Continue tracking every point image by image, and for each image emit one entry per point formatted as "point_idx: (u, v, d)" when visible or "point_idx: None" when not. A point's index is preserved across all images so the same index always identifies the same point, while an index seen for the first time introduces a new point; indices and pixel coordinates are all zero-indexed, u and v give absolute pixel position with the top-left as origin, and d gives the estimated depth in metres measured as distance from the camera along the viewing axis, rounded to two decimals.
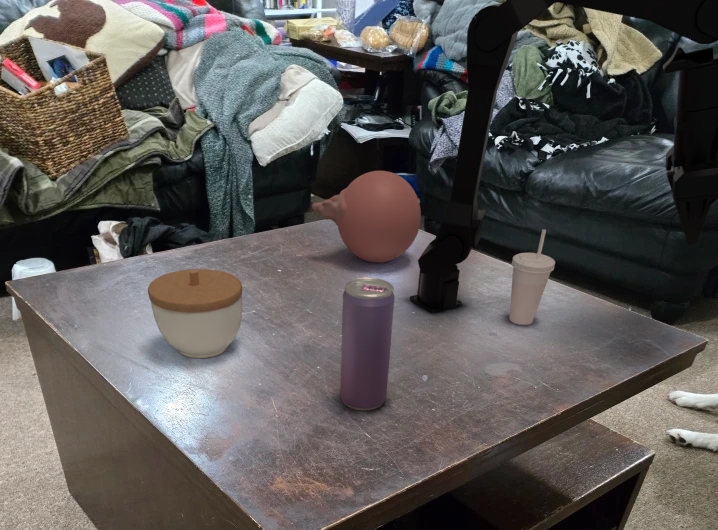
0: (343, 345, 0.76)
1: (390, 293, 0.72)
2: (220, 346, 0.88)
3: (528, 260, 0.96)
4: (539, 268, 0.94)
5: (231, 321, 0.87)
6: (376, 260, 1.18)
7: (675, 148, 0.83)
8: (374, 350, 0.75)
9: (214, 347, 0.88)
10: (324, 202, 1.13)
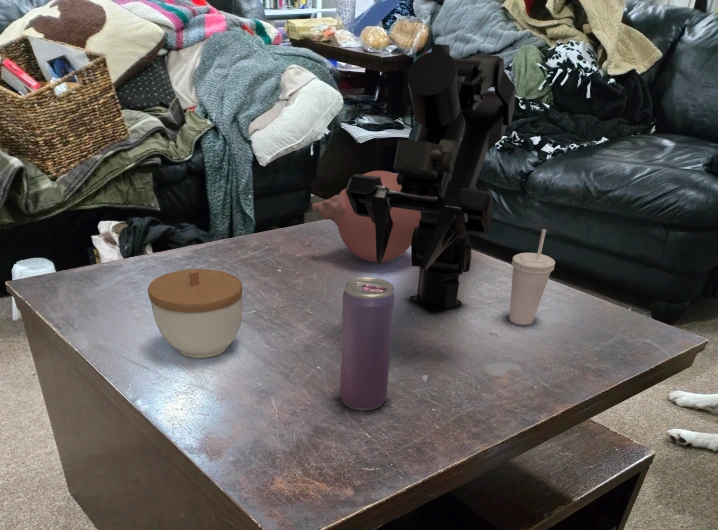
0: (343, 345, 0.76)
1: (390, 293, 0.72)
2: (220, 346, 0.88)
3: (528, 260, 0.96)
4: (539, 268, 0.94)
5: (231, 321, 0.87)
6: (376, 260, 1.18)
7: None
8: (374, 350, 0.75)
9: (214, 347, 0.88)
10: (324, 202, 1.13)
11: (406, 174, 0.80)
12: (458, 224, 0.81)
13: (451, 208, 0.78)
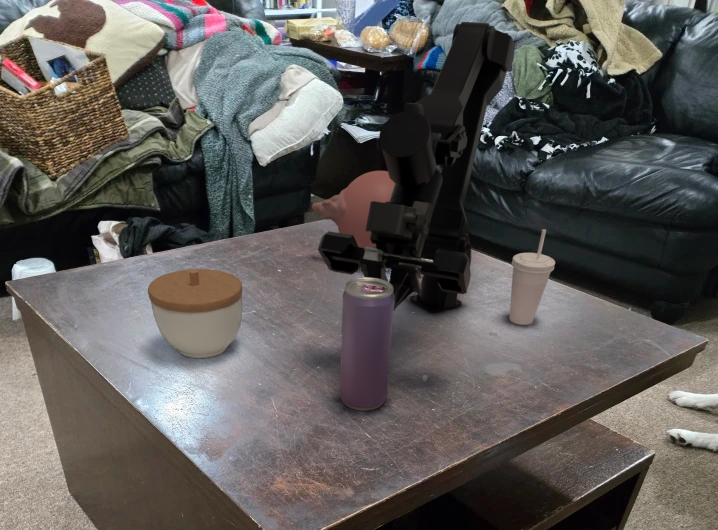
0: (343, 345, 0.76)
1: (390, 293, 0.72)
2: (220, 346, 0.88)
3: (528, 260, 0.96)
4: (539, 268, 0.94)
5: (231, 321, 0.87)
6: None
7: None
8: (374, 350, 0.75)
9: (214, 347, 0.88)
10: (324, 202, 1.13)
11: (380, 234, 0.77)
12: (412, 281, 0.78)
13: (403, 266, 0.76)
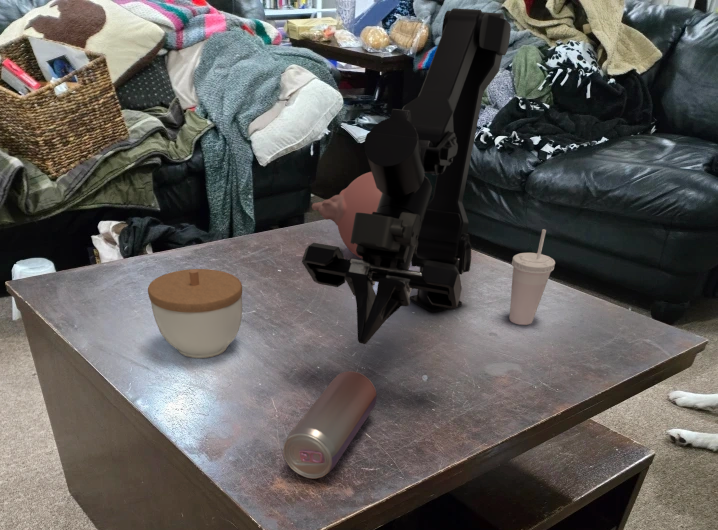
0: None
1: (331, 465, 0.67)
2: (220, 346, 0.88)
3: (528, 260, 0.96)
4: (539, 268, 0.94)
5: (231, 321, 0.87)
6: None
7: None
8: None
9: (214, 347, 0.88)
10: (324, 202, 1.13)
11: (366, 246, 0.73)
12: (400, 295, 0.75)
13: (390, 280, 0.73)
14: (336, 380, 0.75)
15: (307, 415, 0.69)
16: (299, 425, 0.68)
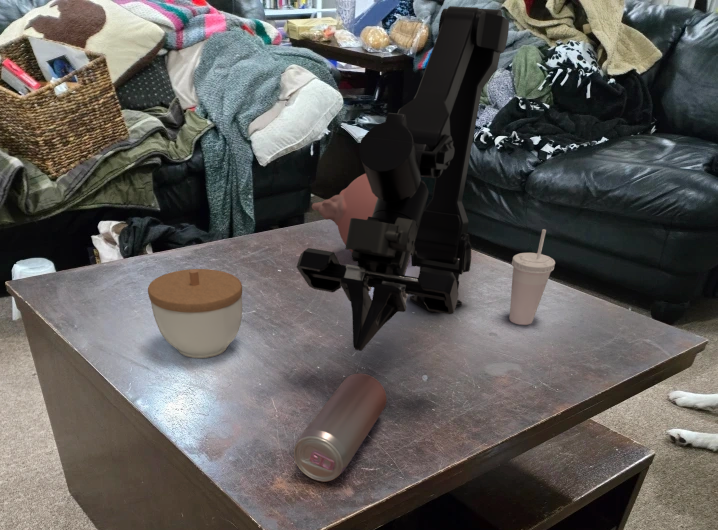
0: None
1: (338, 475, 0.68)
2: (220, 346, 0.88)
3: (528, 260, 0.96)
4: (539, 268, 0.94)
5: (231, 321, 0.87)
6: None
7: None
8: None
9: (214, 347, 0.88)
10: (324, 202, 1.13)
11: (361, 251, 0.72)
12: (396, 301, 0.74)
13: (386, 286, 0.72)
14: (355, 381, 0.74)
15: (327, 416, 0.68)
16: (320, 427, 0.67)
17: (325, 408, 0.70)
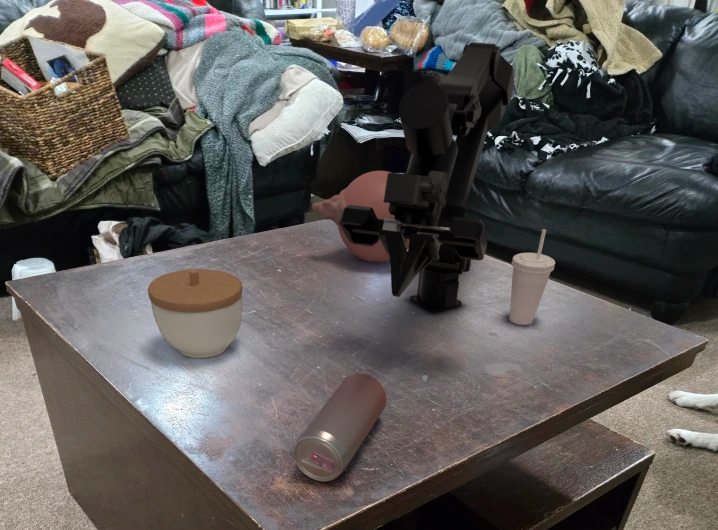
0: None
1: (338, 475, 0.68)
2: (220, 346, 0.88)
3: (528, 260, 0.96)
4: (539, 268, 0.94)
5: (231, 321, 0.87)
6: (376, 260, 1.18)
7: None
8: None
9: (214, 347, 0.88)
10: (324, 202, 1.13)
11: (398, 205, 0.79)
12: (430, 250, 0.81)
13: (421, 235, 0.79)
14: (355, 381, 0.74)
15: (327, 416, 0.68)
16: (319, 427, 0.67)
17: (325, 408, 0.70)
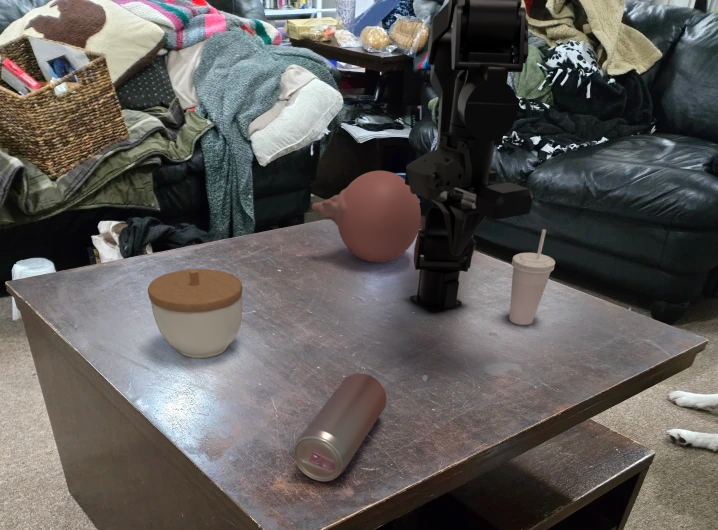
0: None
1: (338, 475, 0.68)
2: (220, 346, 0.88)
3: (528, 260, 0.96)
4: (539, 268, 0.94)
5: (231, 321, 0.87)
6: (376, 260, 1.18)
7: None
8: None
9: (214, 347, 0.88)
10: (324, 202, 1.13)
11: None
12: None
13: (456, 208, 0.81)
14: (355, 381, 0.74)
15: (327, 416, 0.68)
16: (319, 427, 0.67)
17: (325, 408, 0.70)
